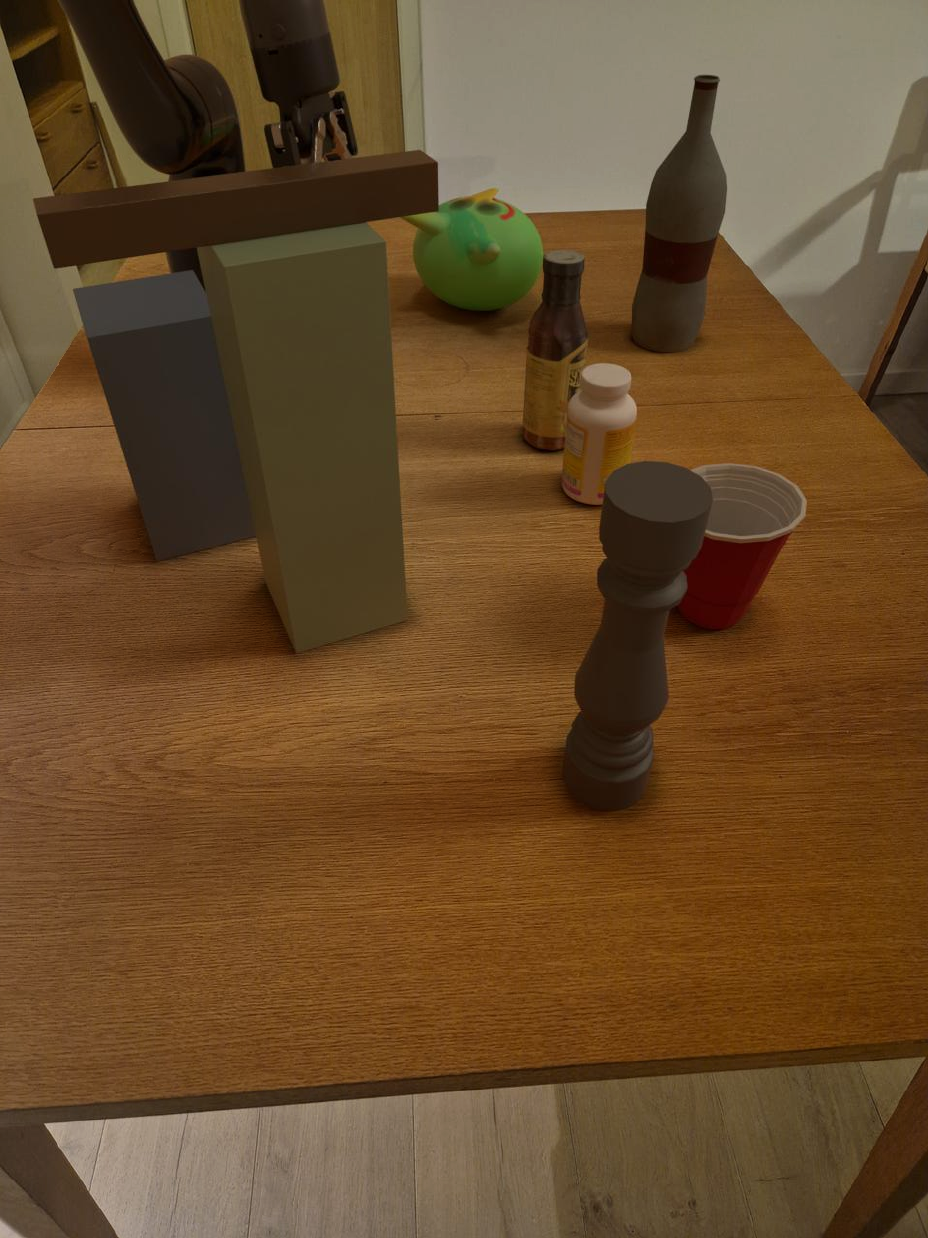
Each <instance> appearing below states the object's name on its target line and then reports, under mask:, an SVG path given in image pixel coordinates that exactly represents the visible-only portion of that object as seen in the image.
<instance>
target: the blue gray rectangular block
mask: <svg viewBox="0 0 928 1238" xmlns="http://www.w3.org/2000/svg"><path fill="white" fill-rule="evenodd" d="M72 292H73V295H74V298H75V302H76V305H77V308H78V312H79V316H80V319H81V323H82V326H83V329H84V333H85V336H86V340H87V342H88V346H89V350H90V352H91V357H92V358H93V361H94V366H95V368H96V371H97V374H98V377H99V381H100V384H101V387H102V391H103V394H104V397H105V400H106V404H107V407H108V410H109V413H110V416H111V420H112V422H113V423H112V424H113V425H114V426H113V427H114V430H115V432H116V435H117V439H118V442H119V446H120V448H121V451H122V453H123V454H122V455H123V459H124V462H125V464H126V468H127V470H128V474H129V477H130V481H131V483H132V487H133V490H134V493H135V496H136V499H137V503H138V505H139V509H140V512H141V515H142V519H143V522H144V526H145V528H146V532H147V534H148V537H149V542H150V544H151V547H152V550H153V553H154V557H155V560H156V562H160V561H164V560H169V559H172V558H177V557H180V556H185V555H188V554H191V553H192V554H193V553H196V552H199V551H200V552H201V551H204V550H208V549H213V548H216V547H219V546H220V547H221V546H223V545H227V544H232V543H235V542H239V541H242V540H243V541H244V540H247V539H251V538H256V534H255V529H254V524H253V519H252V514H251V509H250V504H249V500H248V495H247V490H246V485H245V480H244V475H243V470H242V466H241V461H240V456H239V451H238V446H237V441H236V436H235V431H234V427H233V422H232V417H231V412H230V407H229V402H228V397H227V393H226V388H225V383H224V378H223V373H222V368H221V363H220V358H219V354H218V349H217V344H216V339H215V334H214V329H213V324H212V320H211V315H210V310H209V305H208V300H207V295H206V292H205V291H204V289H203V287H202V285H201V284H200V282H199V280H198V278H197V276H196V275H195V273H194V271H193V270H189V271H183V272H176V273H170V272H169V273H164V274H158V275H152V276H146V277H145V276H144V277H140V278H133V279H126V280H120V281H114V282H107V283H101V284H94V285H88V286H82V287H76V288H73V289H72Z"/></svg>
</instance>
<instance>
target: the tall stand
mask: <svg viewBox="0 0 928 1238" xmlns="http://www.w3.org/2000/svg"><path fill="white" fill-rule="evenodd" d="M197 251H198V256H199V261H200V266H201V271H202V276H203V281H204V285H205V290H206V295H207V300H208V305H209V310H210V315H211V320H212V324H213V329H214V334H215V339H216V344H217V349H218V354H219V358H220V363H221V368H222V373H223V378H224V383H225V388H226V393H227V397H228V402H229V407H230V412H231V417H232V422H233V427H234V431H235V436H236V441H237V446H238V451H239V456H240V461H241V466H242V470H243V475H244V480H245V485H246V490H247V495H248V500H249V504H250V509H251V514H252V519H253V524H254V529H255V534H256V536H255V539H256V543H257V548H258V554H259V558H260V562H261V566H262V567H261V568H262V572H263V577H264V581H265V585H266V587H267V589H268V591H269V594H270V597H271V599H272V601H273V603H274V605H275V607H276V610H277V612H278V615H279V617H280V619H281V622H282V624H283V627H284V629H285V632H286V634H287V635H288V638H289V640H290V643H291V646H292V647H293V650H294V652H295V654H300V653H303V652H306V651H307V652H308V651H310V650H313V649H317V648H320V647H323V646H327V645H329V644H333V643H337V642H339V641H344V640H347V639H350V638H353V637H356V636H360V635H363V634H367V633H370V632H373V631H377V630H380V629H383V628H386V627H389V626H393V625H396V624H399V623H403V622H407V621H408V620H409V613H408V599H407V583H406V581H407V580H406V563H405V562H406V561H405V547H404V545H405V544H404V531H403V530H404V529H403V513H402V495H401V494H402V493H401V479H400V462H399V461H400V459H399V444H398V426H397V409H396V408H397V407H396V392H395V374H394V358H393V357H394V355H393V341H392V340H393V338H392V325H391V307H390V306H391V305H390V304H391V303H390V289H389V288H390V287H389V272H388V255H387V253H388V252H387V241H386V239H384V238H383V237H382V236H381V235H380V234H379V232H377V231H376V230H375V229H374V227H372V226H371V225H370V224H369V223H368V222H364V223H357V224H351V225H344V226H337V227H331V228H324V229H317V230H311V231H304V232H297V233H291V234H284V235H277V236H271V237H264V238H257V239H250V240H244V241H237V242H230V243H224V244H217V245H210V246H204V247H197Z"/></svg>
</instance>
